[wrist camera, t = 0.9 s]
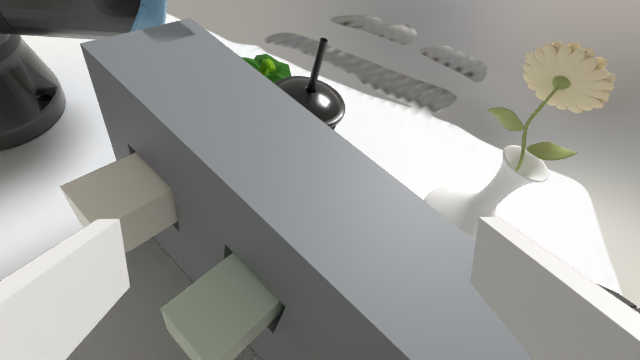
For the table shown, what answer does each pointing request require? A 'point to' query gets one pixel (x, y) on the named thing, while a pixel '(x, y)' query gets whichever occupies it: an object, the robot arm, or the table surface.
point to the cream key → (124, 199)
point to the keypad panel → (291, 207)
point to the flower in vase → (519, 162)
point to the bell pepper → (269, 67)
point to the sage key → (221, 312)
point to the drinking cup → (315, 92)
